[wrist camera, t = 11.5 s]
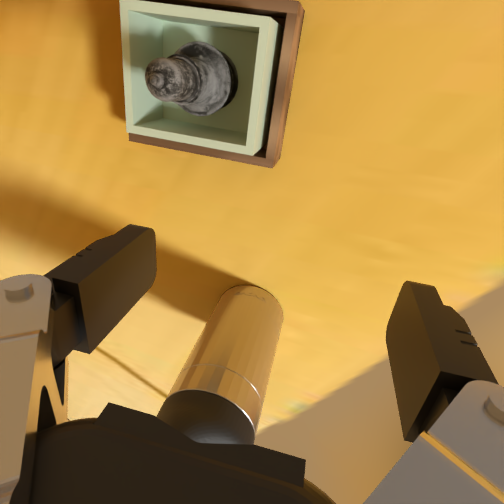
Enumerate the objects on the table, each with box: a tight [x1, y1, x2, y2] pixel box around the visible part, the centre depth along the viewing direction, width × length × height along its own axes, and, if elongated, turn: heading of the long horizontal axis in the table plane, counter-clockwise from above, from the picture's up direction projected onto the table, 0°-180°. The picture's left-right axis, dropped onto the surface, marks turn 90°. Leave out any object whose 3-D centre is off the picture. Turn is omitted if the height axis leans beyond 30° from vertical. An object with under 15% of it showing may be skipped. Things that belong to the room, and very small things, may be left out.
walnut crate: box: [129, 0, 305, 168], centre depth 32 cm, size 13×15×4 cm
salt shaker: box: [145, 41, 238, 116], centre depth 27 cm, size 6×6×12 cm
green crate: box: [119, 0, 284, 156], centre depth 30 cm, size 10×12×6 cm
